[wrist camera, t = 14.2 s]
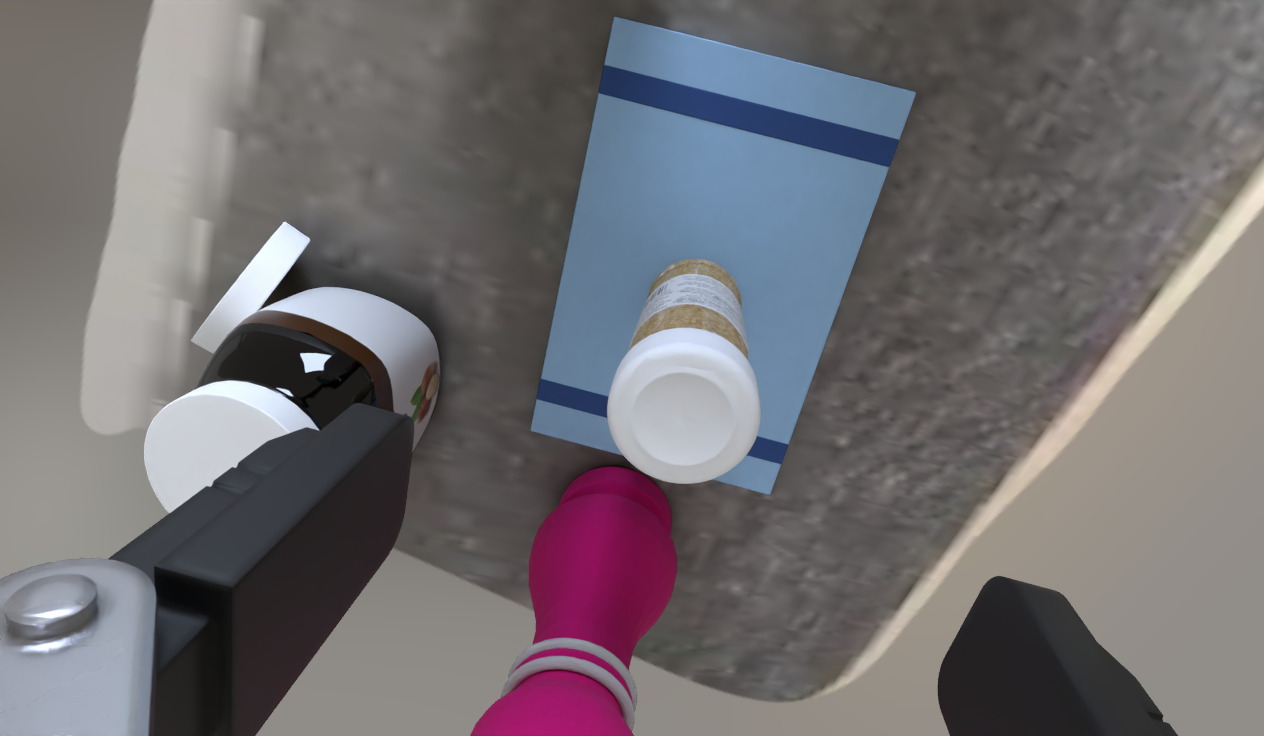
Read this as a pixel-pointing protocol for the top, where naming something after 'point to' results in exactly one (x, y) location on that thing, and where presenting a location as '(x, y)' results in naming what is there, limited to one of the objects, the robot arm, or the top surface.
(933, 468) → the top surface
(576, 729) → the pepper mill
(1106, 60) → the top surface
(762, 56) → the towel
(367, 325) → the spread jar
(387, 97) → the top surface
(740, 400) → the sprinkles bottle
